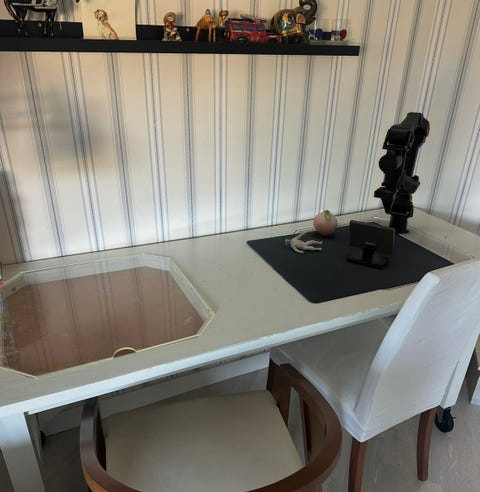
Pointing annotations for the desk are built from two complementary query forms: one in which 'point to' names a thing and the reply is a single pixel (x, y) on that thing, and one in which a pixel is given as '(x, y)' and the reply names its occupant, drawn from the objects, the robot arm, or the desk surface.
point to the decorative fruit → (325, 223)
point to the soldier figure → (302, 244)
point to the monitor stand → (368, 258)
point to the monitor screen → (372, 236)
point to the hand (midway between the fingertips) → (387, 213)
